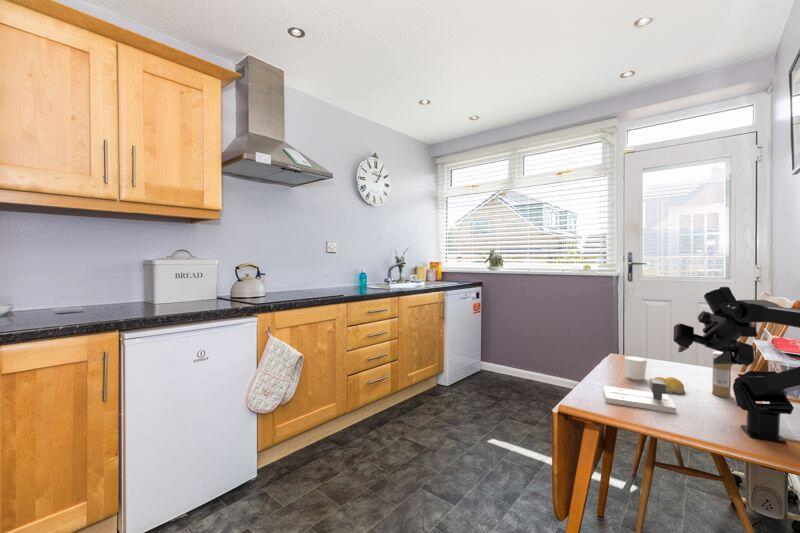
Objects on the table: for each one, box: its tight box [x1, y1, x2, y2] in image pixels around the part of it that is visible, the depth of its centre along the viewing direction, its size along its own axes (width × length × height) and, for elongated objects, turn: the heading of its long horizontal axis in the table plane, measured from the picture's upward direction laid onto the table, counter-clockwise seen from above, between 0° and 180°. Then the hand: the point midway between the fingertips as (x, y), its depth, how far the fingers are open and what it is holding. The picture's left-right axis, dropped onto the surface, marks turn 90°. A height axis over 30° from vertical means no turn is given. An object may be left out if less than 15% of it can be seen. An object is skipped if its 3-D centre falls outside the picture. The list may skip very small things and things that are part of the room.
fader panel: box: [603, 385, 677, 414], centre depth 111 cm, size 11×17×2 cm, turn 64°
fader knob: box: [649, 378, 667, 399], centre depth 108 cm, size 4×3×5 cm
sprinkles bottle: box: [711, 350, 732, 398], centre depth 115 cm, size 5×5×13 cm
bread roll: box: [652, 376, 686, 394], centre depth 121 cm, size 8×9×4 cm
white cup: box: [624, 355, 648, 381], centre depth 132 cm, size 7×7×7 cm
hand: (696, 356), depth 112 cm, fingers open, 9 cm apart
